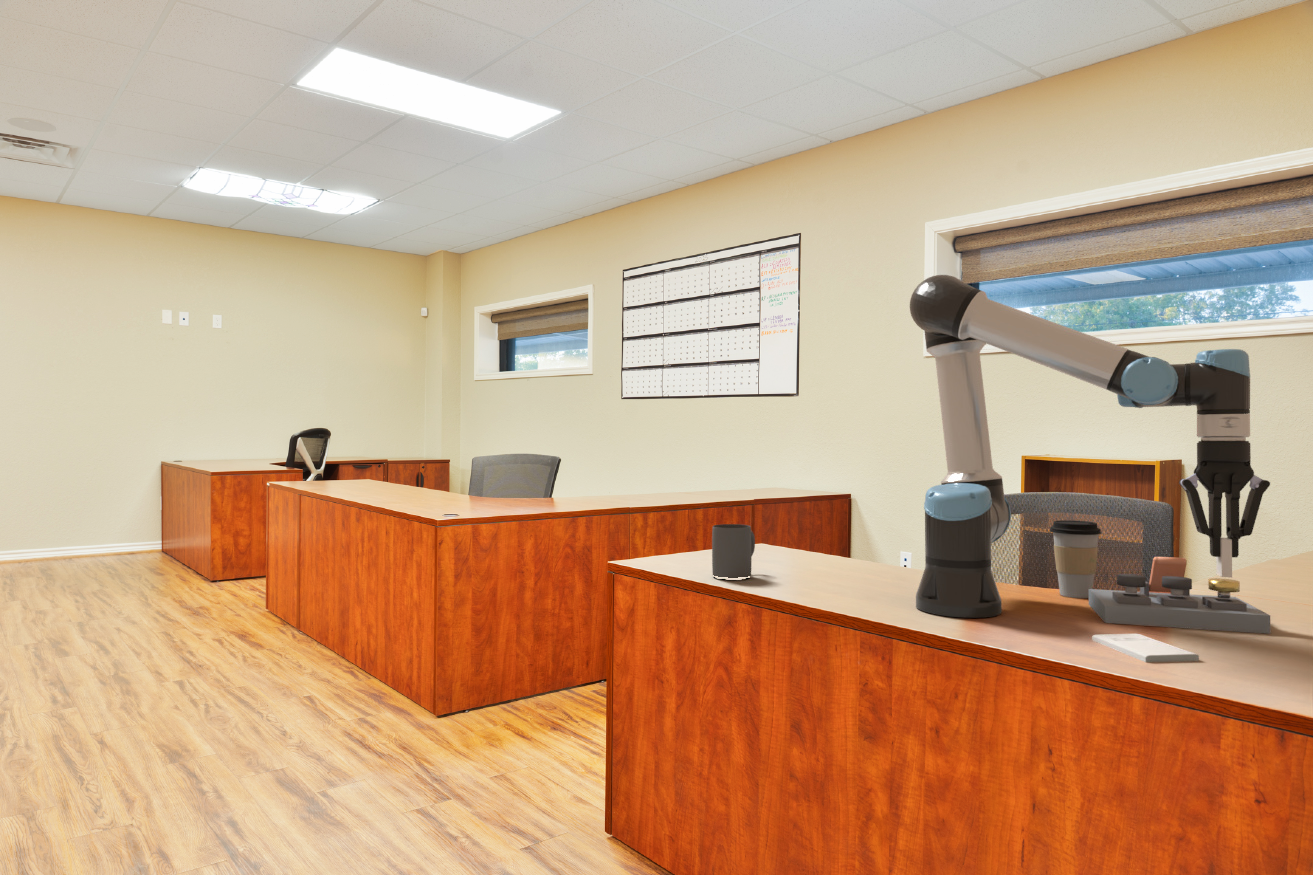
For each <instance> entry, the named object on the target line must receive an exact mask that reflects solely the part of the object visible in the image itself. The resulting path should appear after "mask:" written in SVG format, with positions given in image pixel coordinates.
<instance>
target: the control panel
mask: <svg viewBox="0 0 1313 875" xmlns="http://www.w3.org/2000/svg"><path fill="white" fill-rule="evenodd" d="M1190 590H1191V589H1190ZM1190 590H1183V596H1175V595H1171V593H1169V592H1151V591H1149V582H1148V581H1146V587H1139V591H1137V593H1127V592H1125V590H1114V589H1099V588H1098V589H1095V588H1093V589H1089V598H1088V605H1089V607H1090V608H1092V610H1093V611H1094V612H1095V613H1096V614H1097V615H1098V617H1099V618H1101V619H1102V621H1103V622H1104V623H1107V624H1118V625H1119V624H1121V625H1134V626H1151V627H1165V628H1177V629H1178V628H1181V629H1194V630H1195V629H1197V630H1209V631H1211V630H1212V631H1227V632H1237V633H1238V632H1239V633H1256V634H1268V635H1269V634H1271V615H1270V614H1269V613H1267V612H1264V611H1263V610H1261V609H1259V608H1258V607H1255V606H1253V605H1252V604H1249V603H1248V602H1246V601H1244V600H1243V599H1240V598H1239V597H1236V596H1230V598H1219V597H1218V595H1208V594H1192V593H1191V591H1190Z"/></svg>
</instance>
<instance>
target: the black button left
mask: <svg viewBox="0 0 1313 875" xmlns="http://www.w3.org/2000/svg"><path fill="white" fill-rule="evenodd" d="M1146 579H1147V578H1146V576H1145V575H1139V574H1132V573H1119V574H1116V584H1117V585H1118V586H1122V587H1125V590H1124V591H1125V592H1127V593H1137V592H1138V588H1140V587H1146V582H1147V580H1146Z"/></svg>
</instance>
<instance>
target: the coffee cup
mask: <svg viewBox="0 0 1313 875" xmlns="http://www.w3.org/2000/svg"><path fill="white" fill-rule="evenodd" d="M1052 522H1053V523H1052V526H1050V527H1049V532H1051V533H1052V534H1053V543H1054V544H1053V552H1054V560H1055V568H1056V572H1057V579H1058V580H1057V582H1058V590H1059V595H1060V596H1063V597H1067V598H1072V599H1073V598H1074V599H1089V589H1094V588H1093V587H1094V580H1095V574H1096V569H1097V560H1098V550H1099V546H1098V543H1099V535H1101V534H1102V532H1101V528H1099V527H1098V523H1097V522H1094V521H1086V520H1073V519H1072V520H1070V519H1068V520H1066V519H1061V520H1053V521H1052Z"/></svg>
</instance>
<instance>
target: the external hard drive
mask: <svg viewBox="0 0 1313 875" xmlns="http://www.w3.org/2000/svg"><path fill="white" fill-rule="evenodd" d="M1091 640H1092V642H1095V643H1098V644H1100V645H1102V646H1105V647H1107V648H1110V649H1113V650H1115V651H1117V652H1120V653H1122V654H1123V655H1127V656H1129V657H1131V658H1134V659H1137V660H1139V661H1141V662H1144V663H1166V662H1167V663H1172V662H1173V663H1174V662H1199V661H1200V655H1199V654H1197V653H1195V652H1192V651H1189V650H1187V649H1184V648H1183V649H1182V648H1180V647H1177V646H1175V645H1171V644H1168V643H1166V642H1163V641H1160V640H1157V639H1154V638H1151V637H1149V636H1146V635H1144V634H1139V633H1111V634H1109V633H1108V634H1104V633H1103V634H1093V635H1092V636H1091Z"/></svg>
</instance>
